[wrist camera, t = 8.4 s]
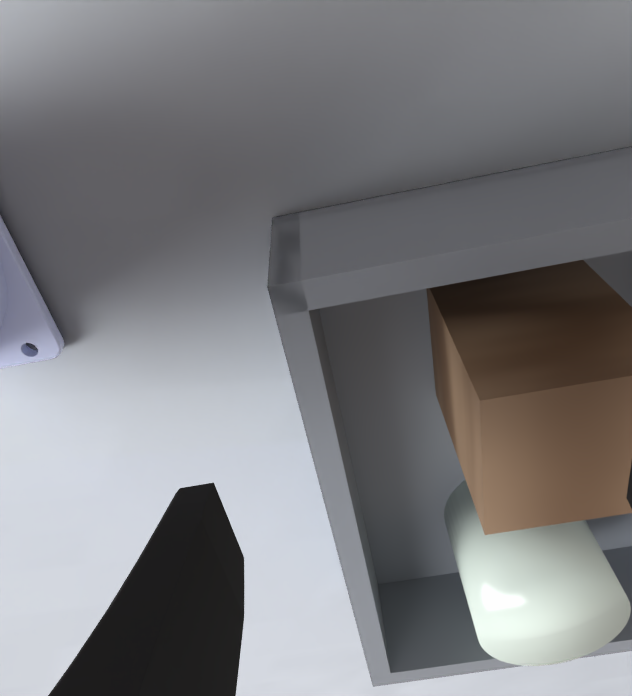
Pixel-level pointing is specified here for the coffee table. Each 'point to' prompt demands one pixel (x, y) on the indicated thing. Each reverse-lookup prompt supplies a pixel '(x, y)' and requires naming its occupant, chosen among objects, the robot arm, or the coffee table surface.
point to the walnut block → (536, 393)
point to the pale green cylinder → (535, 587)
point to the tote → (423, 380)
